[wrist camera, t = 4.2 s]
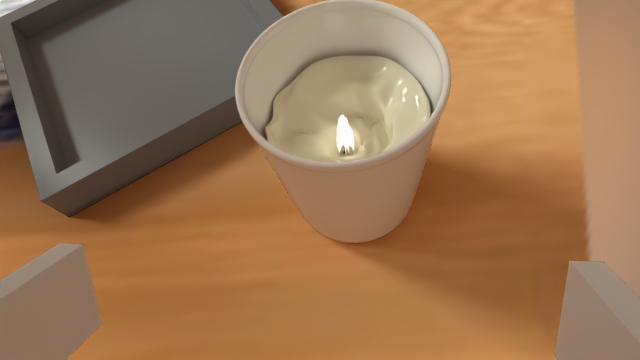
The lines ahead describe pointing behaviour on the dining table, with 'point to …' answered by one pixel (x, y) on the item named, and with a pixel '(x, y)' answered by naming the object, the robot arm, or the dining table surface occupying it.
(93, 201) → the tray
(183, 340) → the dining table surface
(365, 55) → the candle holder
